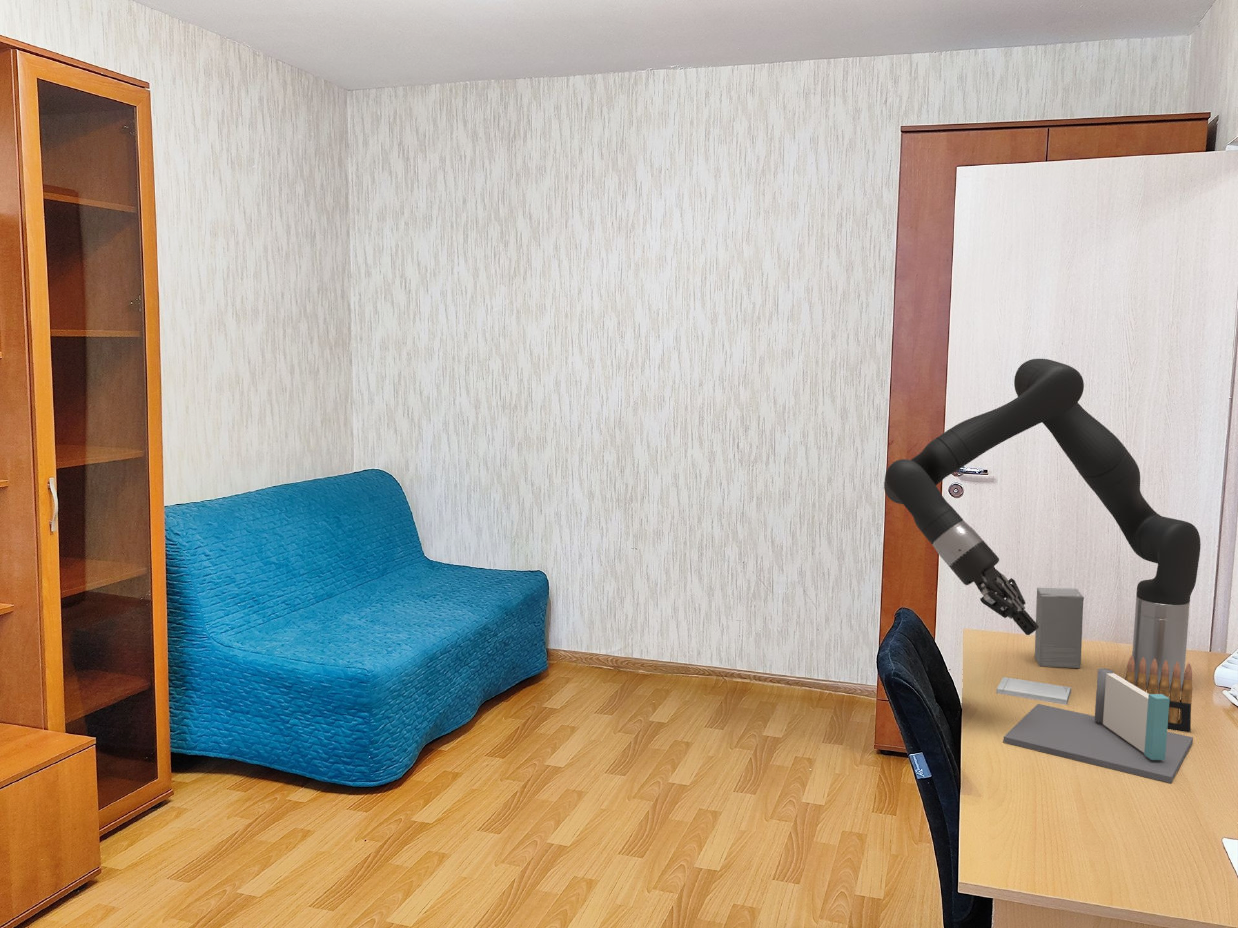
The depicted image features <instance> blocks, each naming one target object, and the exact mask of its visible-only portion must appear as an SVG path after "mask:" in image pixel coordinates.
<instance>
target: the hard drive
mask: <svg viewBox="0 0 1238 928" xmlns="http://www.w3.org/2000/svg"><path fill="white" fill-rule="evenodd" d="M995 693H996V694H999V695H1006V696H1012V697H1016V698H1024V699H1028V700H1029V699H1030V700H1035V701H1042V702H1047V703H1052V704H1058V705H1064V706H1067V705H1068V702H1069V701H1070V697H1071V693H1072V687H1070V686H1065V685H1057V684H1051V683H1045V682H1038V681H1033V680H1026V679H1025V680H1024V679H1019V678H1013V677H1005V676H1002V679H1001V680H1000V682H999V684H998V685H997V688H996V691H995Z"/></svg>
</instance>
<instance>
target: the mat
mask: <svg viewBox="0 0 1238 928" xmlns="http://www.w3.org/2000/svg"><path fill="white" fill-rule="evenodd" d="M1094 719H1095V715H1093V714H1092V715H1091V714H1087V713H1084V712H1078V711H1074V710H1069V709H1063V708H1059V707H1055V706H1050V705H1046V704H1040V703H1037V704H1036V705H1034V707H1033V708H1031V710H1030V711H1029V712H1028V713H1027V714H1026V715H1025V716H1024V717H1023V718H1022V719H1020V720H1019V721H1018V722H1017V723H1016V724H1015V725H1014V726H1013V727H1011V729H1010V730H1009V731H1008V732H1007V733H1005V735H1004V736H1003V743H1005V744H1009V745H1013V746H1016V747H1020V748H1024V749H1028V748H1029V750H1033V751H1037V752H1041V753H1045V754H1049V755H1053V756H1057V757H1061V758H1065V759H1068V760H1069V759H1070V760H1073V761H1077V762H1082V763H1086V764H1090V765H1094V766H1099V767H1102V768H1107V769H1110V770H1114V771H1118V772H1123V773H1127V774H1132V775H1134V776H1139V777H1144V778H1147V779H1151V780H1155V781H1159V782H1163V783H1168V784H1172V782H1173V780H1174V779H1175V777H1176V775H1177V773H1178V772H1179V770H1180V767H1181V766H1182V764H1183V762H1184V759H1185V758H1186V757H1187V754H1188V752H1189V751H1190V749H1191V747H1192V746H1193V743H1194V742H1193V741H1194V736H1188V735H1185V734H1179V733H1175V732H1170V731H1167V740H1166V753H1165V760H1151V759H1149V758H1148V757H1147V756H1145V755H1144V753H1143V752H1142V751H1141V750H1139V749H1138V748H1136V747H1135V746H1133V745H1132V744H1131V743H1129V742H1128V741H1126V740H1125V739H1123V738H1122V737H1121V736H1119V735H1118V734H1116V733H1115V732H1114V731H1112V730H1111V729H1109V728H1108V727H1106V726H1105V725H1104V724H1103V723H1100V722H1097V721H1095V720H1094Z"/></svg>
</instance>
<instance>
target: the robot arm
mask: <svg viewBox="0 0 1238 928" xmlns="http://www.w3.org/2000/svg"><path fill="white" fill-rule="evenodd" d="M1013 380H1014V381H1013V383H1014V384H1013V385H1014V386H1013V387H1014V391H1015V393H1016V396H1017V397H1016V398H1014V399H1013V400H1011V401H1009V402H1008V403H1005V404H1003V405H1002V406H999V407H997V408H995V409H991V410H990V411H987V412H984V413H981V414H978V415H975V416H974V417H970V418H968V419H965V420H963V421H962V422H959V423H957V424H955V425H954V426H952V427H951V428H949V429H948V430H946V431H945V432H943V433H942V434H941V433H940V435H939V436H937V437H935V438H934V439H932V440H931V441H930V442H929V443H928V444H927V445H926V446H925V447H924V448H923V449H922V451H921V452H920V453H918V454H917V455H916V456H914V457H913V458H911V459H906V458H903V459H898V460H896V461H893V462H892V463H891V464H889V466H888V467H887V469H886V472H885V474H884V475H885V476H884V482H883V483H884V484H883V486H884V487H883V488H884V489H883V490H884V493H885V494H886V497H887V498H888V499H889V500H890V501H892V502H893V503H894V504H898V505H903V506H904V508H906V510H907V511H908V512H909V513H910V514H911V515H912V517H913V520H914V523H915V525H916V526H917V528H918V529H919V531H920V533H922V535H923V536H924V537H925V538H926V539H927V540H928V542H929V543H930V544H931V545H932V546H933V547H934V549H935V551H936V552H937V554H938V555H939V556H940V558H941V559H942V560H943V561H944V563H946V565H947V566H948V567H949V568H950V569H951V570H952V572H953V573H954V574H955V576H957V578H958V579H959V580H960V581H961V583H962V584H963V585H964V586H970V584H973V583H974V584H975V585H976V588H977V589H978V591H979V592H980V594H981V595H982V597H980V599H979V600H980V602H981V603H982V604H983V605H985V607H987V608H988V609H991V610H992V611H994V612H995V613H996V614H998V615H999V616H1000V617H1003V618H1004V619H1006V618H1009V619H1010V620H1011V619H1012V620H1013V621H1014V622H1015V623H1016V625H1017V626H1018V628H1020V630H1021V631H1022V632H1023V633H1024V634H1025V635H1027V636H1030V635H1031V634H1033V633H1034V632H1036V630H1037V629H1038V625H1037V623H1036V620H1035V619H1034V618H1032V617H1031V616H1030V614H1029V613H1028V611H1026V606H1025V605H1026V601H1025V598H1024V597H1023V594H1022V592H1021V591H1020V587H1019V586H1018V584H1017V581H1015V579H1014V578H1012V577H1010V578H1009V579H1008V578H1007V577H1006V576H1005V575H1004V574H1003V573H1001V572H1000V571H999V570H998V569H997V568H995V566H996V565H997V564H998V563H999V562H1000V558H999V557H998V556H997V554H996V553H995V552H994V551H993V550H992V549H991V547H990V546H989V545H988V544H987V543H986V541H984V540H983V538H982V537H981V536H980V535H979V533H977V531H976V530H975V529H974V528H973V527H972V526H970V525H969V523H967V522H966V521H965V520H964V518H963V517H962V516H961V515H960V514H959V513H958V512H957V510H955V508H954V507H953V506H952V505H951V504H950V503H949V502H948V501H947V500H946V499H945V498H944V496H943V495H942V493H941V491H940V490H939V488H938V487H937V485H939V484H940V483H941V482H942V481H944V480H945V479H946V478H947V477H949V476H950V475H952V474H954V473H955V472H957V471H959V470H961V469H962V468H963V467H965V466H967V465H968V464H969V463H971V462H972V461H974V460H975V459H977V458H978V457H980V456H981V455H983V454H985V453H986V452H988V451H990V450H991V449H993V448H995V447H997V446H998V445H1000V444H1001V443H1003V442H1005V441H1007V440H1010V439H1011V438H1013V437H1015V436H1017V435H1019V434H1021V433H1023V432H1025V431H1028V429H1031V428H1033V427H1035V426H1037V425H1039V424H1041V423H1042V425H1044V426H1045V427H1046V428H1047V430H1048V431H1049V432H1050V434H1051V435H1052V436H1053V438H1054V439H1055V441H1056V442H1057V444H1058V445H1059V447H1060V448H1061V450H1062V451H1063V452H1064V454H1065V456H1066V457H1067V458H1068V459H1069V461H1070V462H1071V463H1072V465H1073V466H1074V468H1075V470H1077V472H1078V473H1079V475H1080V476H1081V477H1082V478H1083V479H1082V480H1083V481H1085V482H1086V484H1087V485H1088V486H1089V488H1090V489H1091V490H1092V491H1093V493H1094V494H1095V495H1096V496H1097V498H1098V499H1099V500H1100V501H1101V503H1102V505H1103V506H1104V507H1105V508H1106V510H1107V511H1108V512H1109V513H1110V515H1111V516H1112V517H1113V519H1114V520H1115V523H1116V524H1117V525H1118V527H1119V529H1120V531H1121V533H1122V534H1123V536H1124V538H1125V539H1126V541H1127V543H1128V544H1129V546H1130V548H1131V549H1132V551H1133V552H1134V553H1135V554H1136V555H1137V556H1138V557H1140V558H1141V559H1142V560H1143V561H1144V560H1145V561H1147V562H1150V563H1154V564H1157V568H1156V573H1155V576H1154V577H1153V578H1152V579H1150V578H1149V579H1143V580H1141V581H1139V582H1138V583H1137V586H1136V595H1135V609H1134V610H1135V612H1134V624H1133V626H1134V627H1133V636H1132V637H1133V639H1132V653H1131V656H1133V658H1134V662H1135V686H1136V681H1137V677H1138V671H1139V664H1140V661H1141V659H1142V657H1144V658H1145V662H1146V680H1147V686H1148V680H1149V675H1150V668H1151V664H1152V661H1153V660H1154V659H1156V661H1157V666H1158V691H1159V682H1160V679H1161V671H1162V667H1163V664H1164V662H1165V660H1167V662H1168V666H1169V685H1171V682H1172V677H1173V670H1174V666H1175V664H1176V662H1179V665H1180V673H1181V675H1180V683H1181V691H1182V685H1183V680H1184V673H1185V669H1186V657H1187V643H1188V629H1189V617H1190V616H1189V615H1190V603H1191V596H1192V593H1193V591H1194V590H1195V587H1196V583H1197V576H1198V571H1199V564H1200V563H1199V562H1200V555H1201V545H1202V544H1201V536H1200V533H1199V531H1198V529H1197V527H1196V526H1195V524H1193V523H1191V522H1188V521H1185V520H1180V519H1177V518H1171V517H1167V516H1162V515H1161V514H1159V513H1157V511H1155V510H1154V509H1153V507H1152V506H1151V505H1150V504H1149V502H1147V500H1146V499H1145V497H1144V495H1142V492H1141V471H1140V468H1139V465H1138V464H1137V461H1136V460H1135V459H1134V457H1133V456H1132V455H1131V453H1130V452H1129V450H1128V449H1127V448H1126V446H1125V445H1124V443H1122V442H1121V440H1120V439H1119V438H1118V437H1117V436H1116V434H1114V433H1113V432H1112V431H1110V430H1109V429H1108V427H1106V426H1105V425H1103V423H1101V422H1100V421H1099V420H1097V419H1096V418H1095V417H1094V416H1093V415H1091V414H1090V413H1089V412H1088V411H1087V410H1085V409H1084V407H1083V406H1082V405H1080V403H1079V401H1080V400H1081V398H1082V396H1083V393H1084V390H1085V389H1084V388H1085V383H1084V378H1083V376H1082V374H1081V373H1080V372H1079V371H1078V369H1076V368H1075V367H1073V366H1071V365H1069V364H1065V363H1062V362H1059V361H1055V360H1053V359H1049V358H1032V359H1029V360H1026V361H1025V362H1023V363H1022V364H1020V365H1019V367H1018V368H1017V369H1016V372H1015V376H1014V379H1013ZM1146 689H1147V687H1146ZM1169 693H1170V687H1169Z"/></svg>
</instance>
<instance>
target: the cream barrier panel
mask: <svg viewBox="0 0 1238 928" xmlns="http://www.w3.org/2000/svg"><path fill="white" fill-rule="evenodd" d="M1096 676H1097V677H1096V690H1095V691H1096V692H1095V693H1096V694H1095V705H1094V707H1095V710H1094V716H1095V719H1094V720H1095V721H1097V722H1100V723H1103V724H1104V725H1105V726H1106V727H1108V728H1109V729H1111V730H1112V731H1114V732H1115V733H1116V734H1118V735H1119V736H1121V737H1122V738H1123V739H1125V740H1126V741H1128V742H1129V743H1131V744H1132V745H1133V746H1135V747H1136V748H1138V749H1139V750H1141V751H1142V752H1143V753H1144V755H1145V756H1147V757H1148V758H1149V759H1151V760H1165V753H1166V740H1167V732H1168V729H1167V727H1168V714H1169V701H1170V698H1168V697H1166V696H1164V695H1163V694H1148V693H1147V691H1146V692H1145V691H1143V690H1141V689H1140V688H1138V687H1136V685H1135V686H1134V685H1133V684H1131V683H1129V682H1128V681H1126V680H1125V678H1123V677H1121V676H1119V675H1118V674H1116V673H1114V671H1113V670H1111V669H1109V668H1104V667H1103V668H1101V667H1100V668H1097V675H1096Z"/></svg>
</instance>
